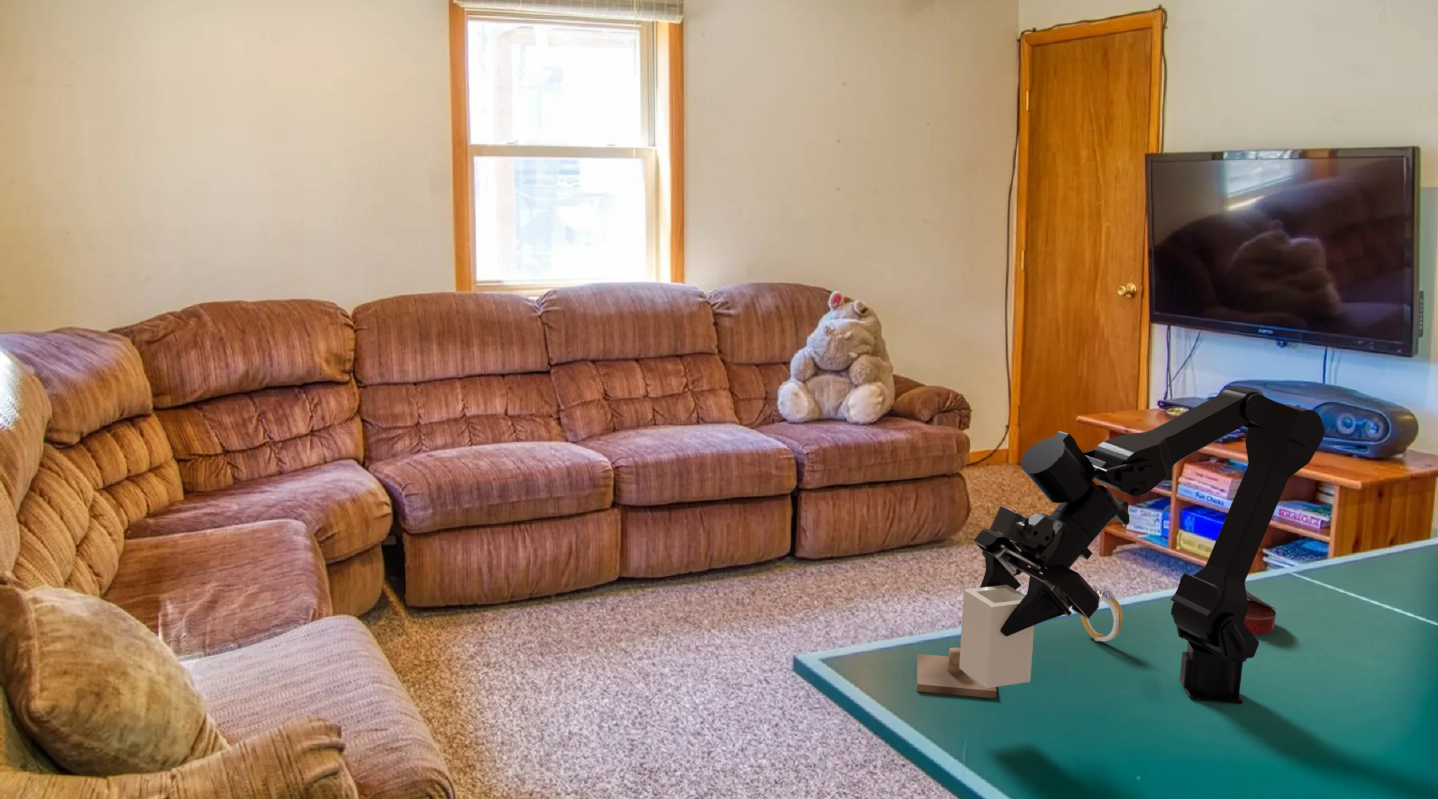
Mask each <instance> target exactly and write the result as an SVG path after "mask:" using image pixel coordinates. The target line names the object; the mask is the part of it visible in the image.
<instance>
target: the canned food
mask: <svg viewBox="0 0 1438 799" xmlns="http://www.w3.org/2000/svg"><path fill="white" fill-rule="evenodd" d="M1246 594H1247V601H1248V610H1247V614H1246V617H1245V621H1244V625H1245V626H1246V627H1247V628H1248V629H1249V631H1250V632H1251V633H1252V634H1253V635H1254V636H1255V635H1267V634H1270V633H1272V632H1274V631H1275V624H1276V615H1277V612H1276V608H1275V607H1273V606H1271V605H1270V604H1268V603H1267V602H1265V601H1263V600H1262V599H1260V598H1258V597H1257V596H1255V595H1253V594H1252V593H1251V592H1249V591H1247V590H1246Z"/></svg>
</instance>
